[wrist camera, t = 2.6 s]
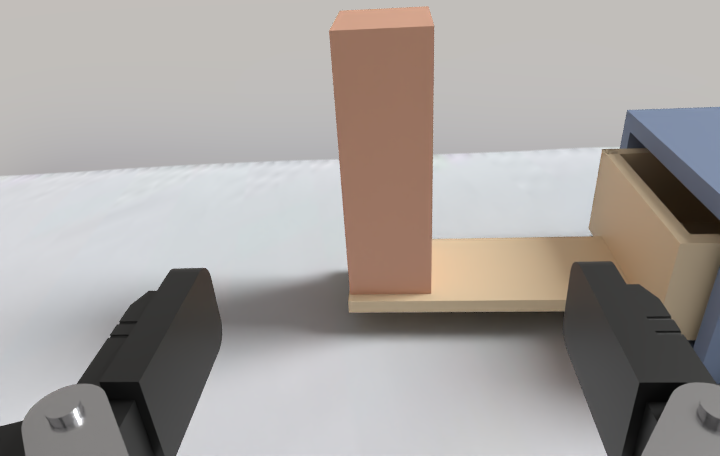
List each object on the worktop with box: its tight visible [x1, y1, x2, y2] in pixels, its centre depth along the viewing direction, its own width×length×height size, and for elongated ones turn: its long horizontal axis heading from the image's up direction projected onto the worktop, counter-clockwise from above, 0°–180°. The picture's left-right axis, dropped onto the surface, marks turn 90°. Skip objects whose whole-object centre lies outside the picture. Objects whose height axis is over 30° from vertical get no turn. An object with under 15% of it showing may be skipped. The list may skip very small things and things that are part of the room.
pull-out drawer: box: [329, 7, 720, 340], centre depth 23 cm, size 23×9×12 cm, turn 87°
